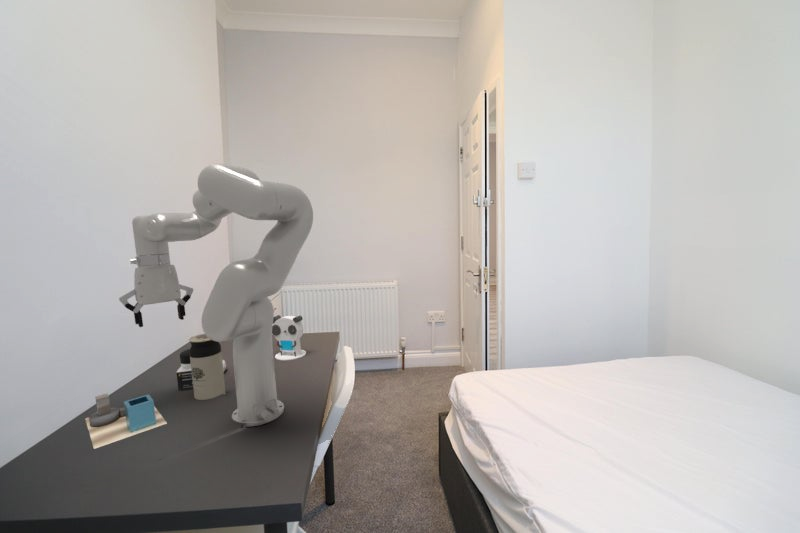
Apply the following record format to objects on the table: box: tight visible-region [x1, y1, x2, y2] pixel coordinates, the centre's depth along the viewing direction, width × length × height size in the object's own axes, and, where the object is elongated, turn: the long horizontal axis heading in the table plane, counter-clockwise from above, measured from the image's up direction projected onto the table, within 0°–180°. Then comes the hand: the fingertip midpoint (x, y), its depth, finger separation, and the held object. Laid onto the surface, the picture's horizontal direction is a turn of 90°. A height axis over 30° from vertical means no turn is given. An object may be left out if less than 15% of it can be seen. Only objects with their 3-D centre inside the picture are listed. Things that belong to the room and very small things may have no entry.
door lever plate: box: [84, 392, 168, 450], centre depth 93 cm, size 20×14×8 cm
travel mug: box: [188, 333, 226, 401], centre depth 106 cm, size 8×8×18 cm
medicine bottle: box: [176, 348, 194, 391], centre depth 114 cm, size 7×7×12 cm
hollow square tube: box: [123, 394, 156, 432], centre depth 91 cm, size 5×5×6 cm
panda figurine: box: [272, 314, 307, 361], centre depth 140 cm, size 12×11×15 cm
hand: (161, 322), depth 103 cm, fingers open, 9 cm apart
